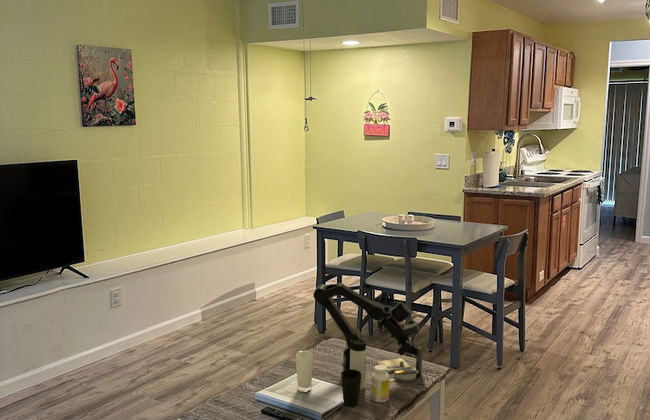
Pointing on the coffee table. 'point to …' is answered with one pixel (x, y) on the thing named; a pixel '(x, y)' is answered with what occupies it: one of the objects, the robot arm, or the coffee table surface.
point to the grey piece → (407, 373)
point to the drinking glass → (304, 368)
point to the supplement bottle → (380, 384)
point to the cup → (351, 387)
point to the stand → (393, 364)
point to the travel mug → (358, 359)
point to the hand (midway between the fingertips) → (419, 355)
